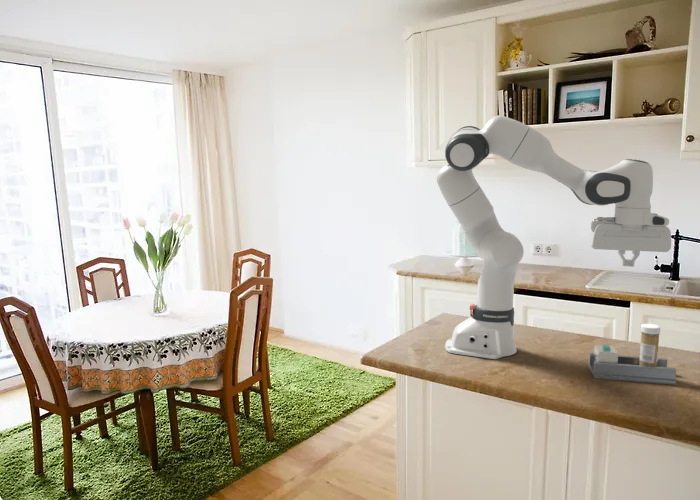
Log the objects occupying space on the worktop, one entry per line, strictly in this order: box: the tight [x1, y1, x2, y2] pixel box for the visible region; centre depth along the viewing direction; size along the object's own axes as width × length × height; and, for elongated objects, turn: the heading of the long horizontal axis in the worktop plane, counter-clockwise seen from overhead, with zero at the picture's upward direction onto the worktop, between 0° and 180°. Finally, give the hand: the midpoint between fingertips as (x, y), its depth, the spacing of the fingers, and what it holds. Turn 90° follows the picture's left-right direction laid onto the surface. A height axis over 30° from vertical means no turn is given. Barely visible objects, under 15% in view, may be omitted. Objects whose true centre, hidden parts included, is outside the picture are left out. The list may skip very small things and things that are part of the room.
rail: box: [587, 344, 677, 386], centre depth 146 cm, size 20×10×8 cm, turn 75°
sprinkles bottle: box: [639, 323, 661, 367], centre depth 145 cm, size 5×5×14 cm
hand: (627, 266), depth 149 cm, fingers closed
